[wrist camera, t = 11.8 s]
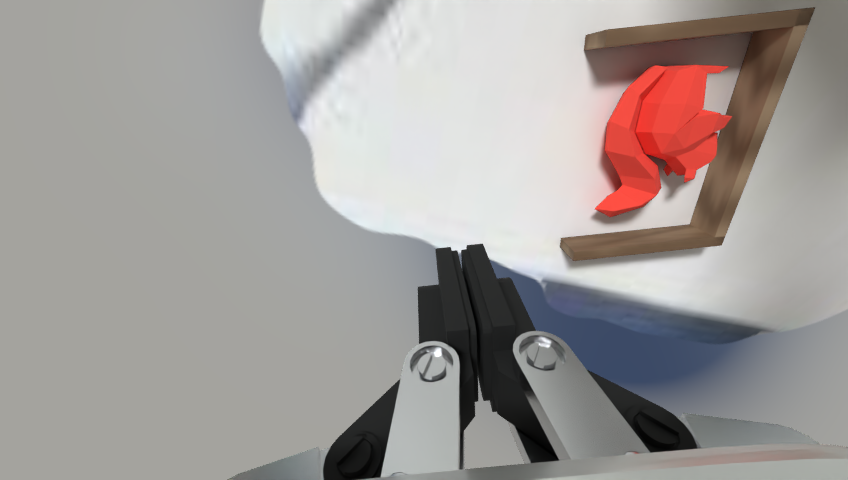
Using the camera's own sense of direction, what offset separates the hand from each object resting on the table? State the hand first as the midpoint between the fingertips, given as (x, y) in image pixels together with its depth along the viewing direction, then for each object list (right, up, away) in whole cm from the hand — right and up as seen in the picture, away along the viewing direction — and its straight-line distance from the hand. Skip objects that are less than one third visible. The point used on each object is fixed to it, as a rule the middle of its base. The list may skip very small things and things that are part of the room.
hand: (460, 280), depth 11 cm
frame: (+23, +11, +23) cm, 34 cm away
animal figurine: (+22, +12, +23) cm, 34 cm away
